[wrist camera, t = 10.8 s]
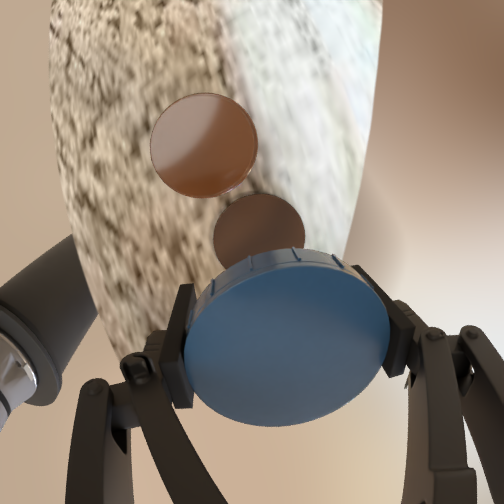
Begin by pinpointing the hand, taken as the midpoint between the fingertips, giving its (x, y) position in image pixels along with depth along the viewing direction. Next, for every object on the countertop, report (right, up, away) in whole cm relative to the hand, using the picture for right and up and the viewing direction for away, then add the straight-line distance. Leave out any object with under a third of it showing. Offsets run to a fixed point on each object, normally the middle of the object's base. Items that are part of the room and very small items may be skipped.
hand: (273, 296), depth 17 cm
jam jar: (-5, +13, +12) cm, 19 cm away
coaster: (0, +4, +16) cm, 17 cm away
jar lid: (0, -2, -5) cm, 5 cm away
